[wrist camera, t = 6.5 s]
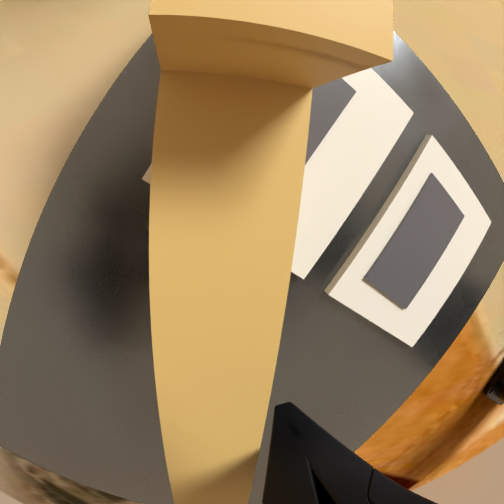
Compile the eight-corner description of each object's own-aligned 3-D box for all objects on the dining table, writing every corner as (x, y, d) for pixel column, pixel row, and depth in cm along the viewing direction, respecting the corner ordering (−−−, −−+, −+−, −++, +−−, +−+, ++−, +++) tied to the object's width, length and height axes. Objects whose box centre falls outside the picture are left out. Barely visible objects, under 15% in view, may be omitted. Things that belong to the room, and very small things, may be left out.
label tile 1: (486, 220, 10) (493, 223, 10) (408, 343, 11) (413, 348, 11) (426, 134, 9) (434, 135, 8) (324, 290, 9) (329, 296, 9)
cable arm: (192, -40, 5) (220, -175, 1) (279, -28, 6) (371, -138, 1) (172, 464, 10) (185, 572, 5) (229, 461, 10) (257, 565, 6)
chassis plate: (507, 217, 12) (522, 222, 11) (259, 508, 15) (262, 520, 14) (253, -53, 6) (261, -69, 5) (-5, 425, 10) (-11, 439, 9)
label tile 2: (407, 113, 8) (415, 112, 8) (299, 275, 9) (305, 280, 9) (280, 0, 6) (284, -5, 6) (143, 177, 7) (141, 179, 7)
